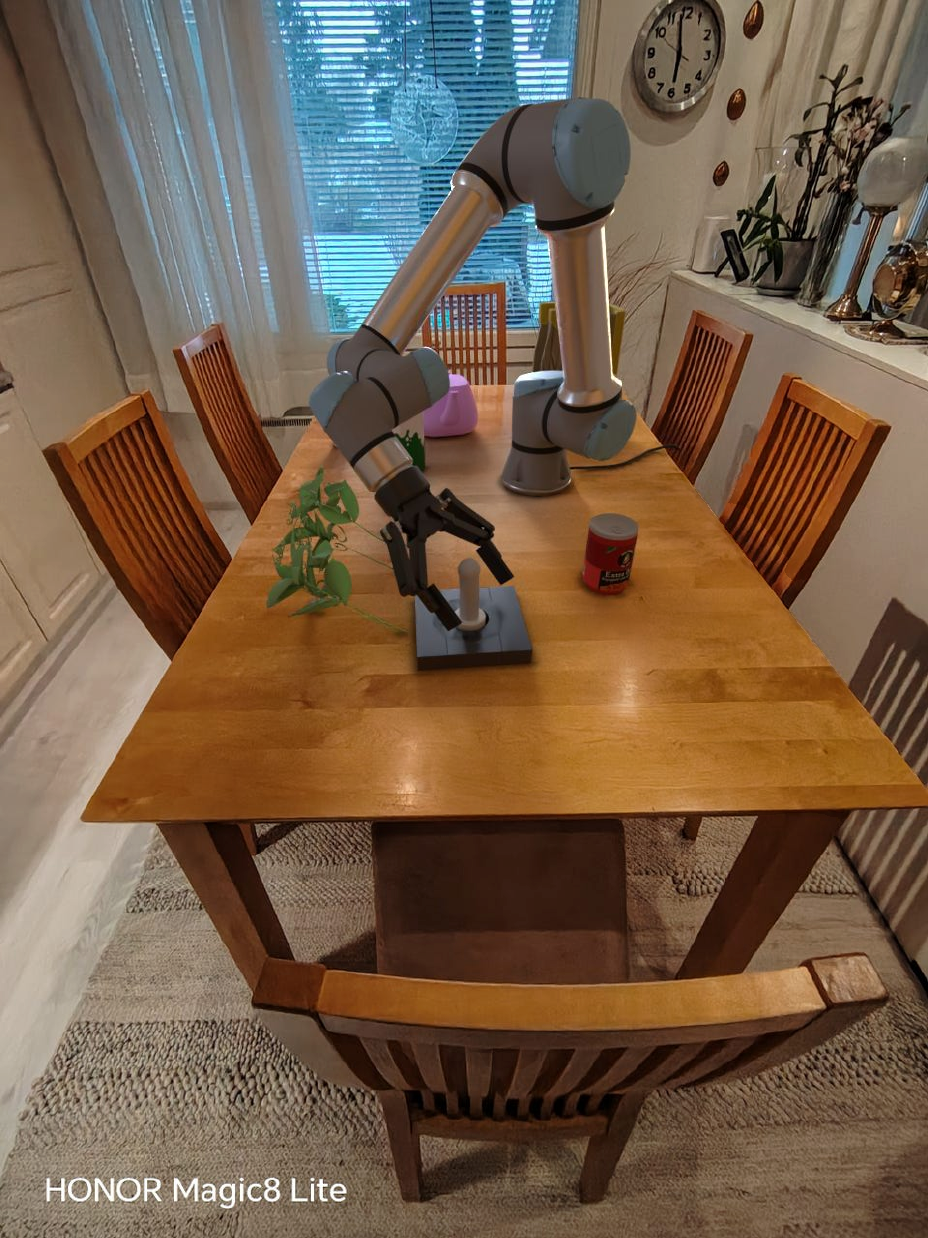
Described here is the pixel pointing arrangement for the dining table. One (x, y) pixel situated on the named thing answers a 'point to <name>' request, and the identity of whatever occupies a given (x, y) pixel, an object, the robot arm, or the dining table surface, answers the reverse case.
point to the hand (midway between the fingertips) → (482, 603)
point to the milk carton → (413, 439)
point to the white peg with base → (469, 596)
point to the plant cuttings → (318, 548)
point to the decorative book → (549, 345)
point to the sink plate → (474, 633)
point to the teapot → (452, 411)
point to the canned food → (609, 552)
